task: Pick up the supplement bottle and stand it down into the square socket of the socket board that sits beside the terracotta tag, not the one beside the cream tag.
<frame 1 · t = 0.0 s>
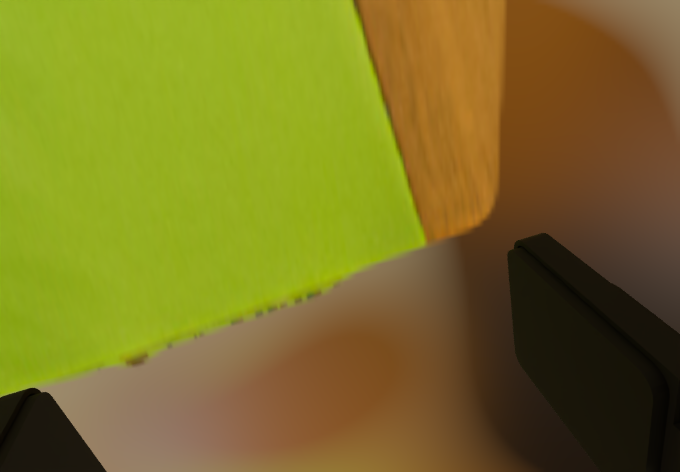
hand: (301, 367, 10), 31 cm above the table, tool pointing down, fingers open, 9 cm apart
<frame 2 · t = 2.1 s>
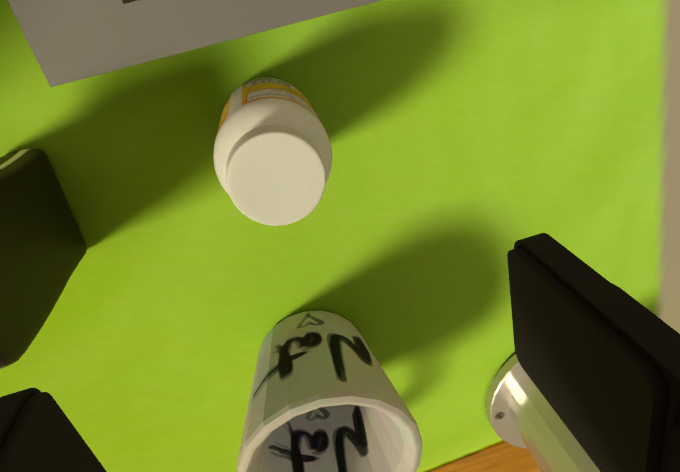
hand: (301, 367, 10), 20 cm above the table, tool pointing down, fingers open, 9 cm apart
supplement bottle: (267, 124, 28), on the table
mug: (315, 372, 37), on the table
battery charger: (36, 205, 28), on the table
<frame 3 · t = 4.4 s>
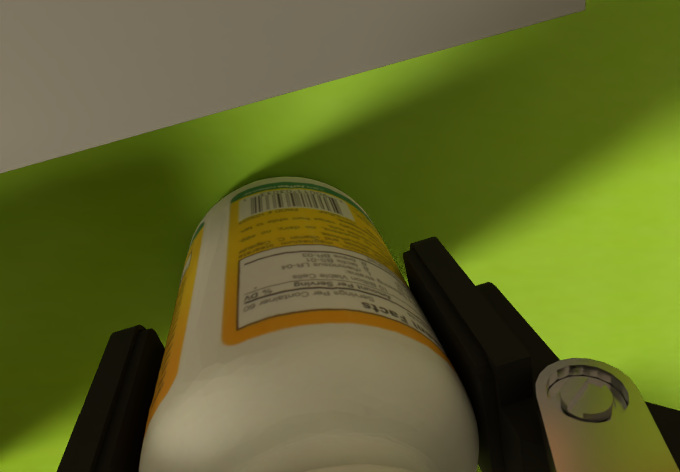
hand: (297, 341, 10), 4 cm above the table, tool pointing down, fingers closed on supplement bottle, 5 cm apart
supplement bottle: (284, 259, 14), on the table, touching gripper
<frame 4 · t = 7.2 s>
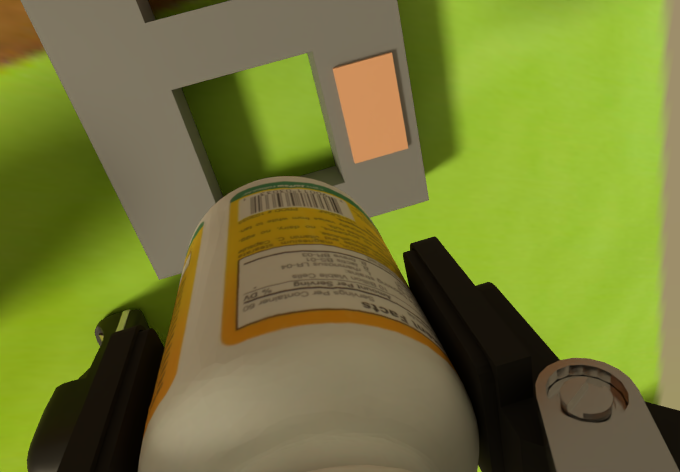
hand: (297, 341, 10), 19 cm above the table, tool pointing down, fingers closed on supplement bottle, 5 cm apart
supplement bottle: (284, 259, 14), point 16 cm above the table, touching gripper
battery charger: (129, 348, 33), on the table
socket board: (233, 33, 25), on the table
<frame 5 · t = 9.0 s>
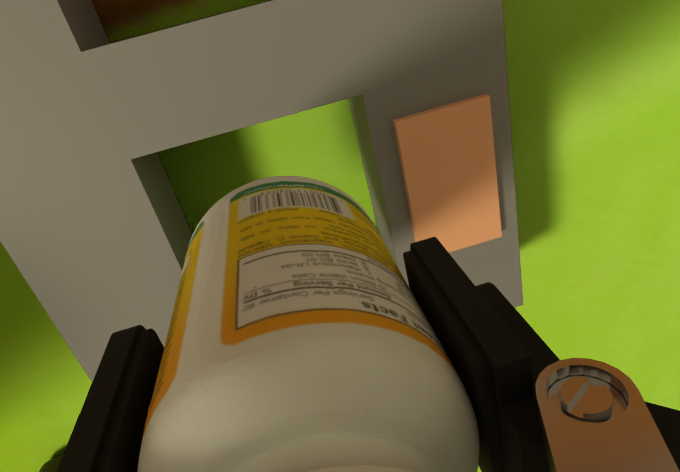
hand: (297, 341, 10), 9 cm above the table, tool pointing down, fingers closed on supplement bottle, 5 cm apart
supplement bottle: (284, 259, 14), point 5 cm above the table, touching gripper
socket board: (233, 62, 16), on the table
when the fingers open (4 cm above the table, at t = 10.4 s): supplement bottle stays where it is, resting in socket board.
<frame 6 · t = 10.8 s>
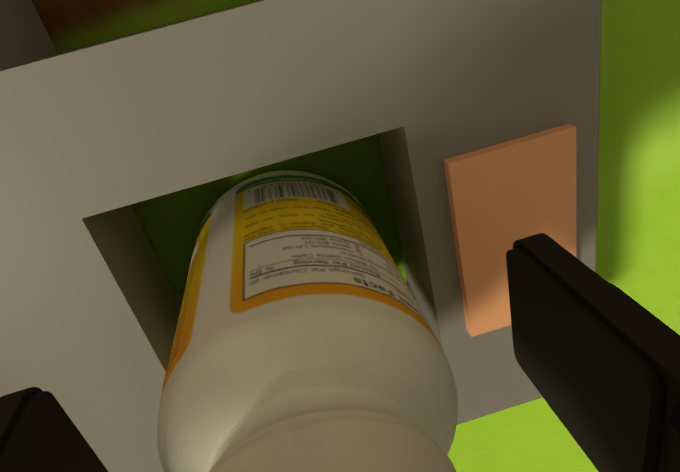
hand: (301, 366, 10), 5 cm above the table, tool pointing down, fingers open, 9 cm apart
supplement bottle: (285, 248, 15), resting in socket board
socket board: (226, 78, 12), on the table
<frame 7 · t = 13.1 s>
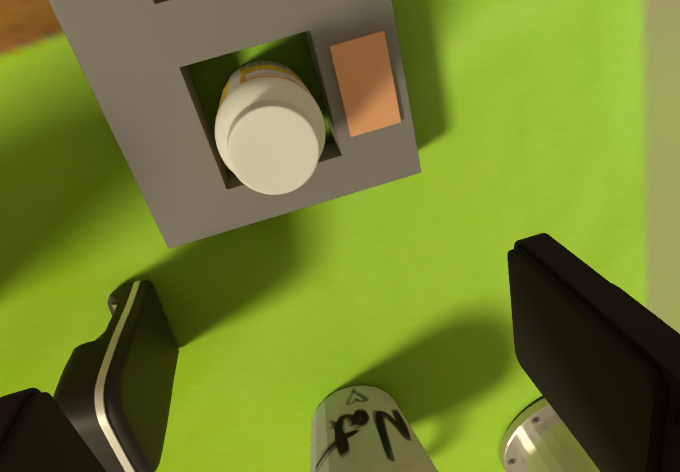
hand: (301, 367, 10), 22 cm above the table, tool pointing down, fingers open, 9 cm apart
supplement bottle: (265, 105, 29), resting in socket board
mug: (356, 432, 43), on the table
battery charger: (140, 319, 34), on the table
socket board: (235, 15, 27), on the table
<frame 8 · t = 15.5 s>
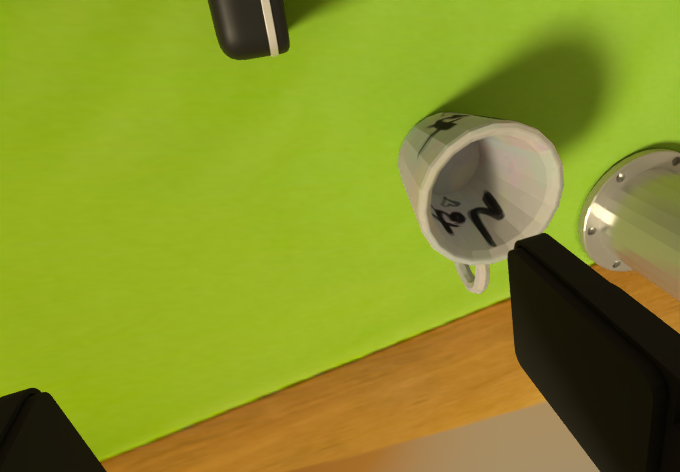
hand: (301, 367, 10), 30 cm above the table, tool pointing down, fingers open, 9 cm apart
mug: (440, 179, 42), on the table
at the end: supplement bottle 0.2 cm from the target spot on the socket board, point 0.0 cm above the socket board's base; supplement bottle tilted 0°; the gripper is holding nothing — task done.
